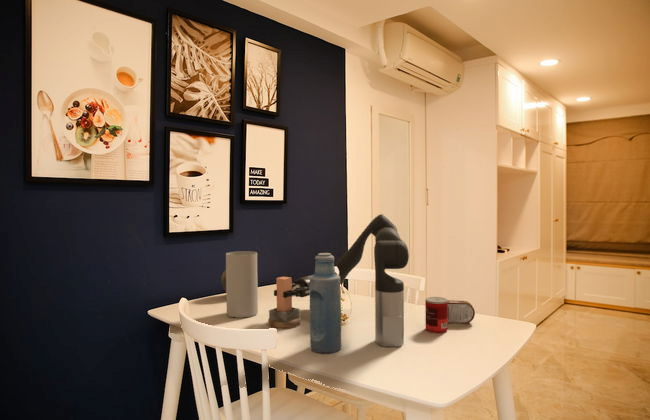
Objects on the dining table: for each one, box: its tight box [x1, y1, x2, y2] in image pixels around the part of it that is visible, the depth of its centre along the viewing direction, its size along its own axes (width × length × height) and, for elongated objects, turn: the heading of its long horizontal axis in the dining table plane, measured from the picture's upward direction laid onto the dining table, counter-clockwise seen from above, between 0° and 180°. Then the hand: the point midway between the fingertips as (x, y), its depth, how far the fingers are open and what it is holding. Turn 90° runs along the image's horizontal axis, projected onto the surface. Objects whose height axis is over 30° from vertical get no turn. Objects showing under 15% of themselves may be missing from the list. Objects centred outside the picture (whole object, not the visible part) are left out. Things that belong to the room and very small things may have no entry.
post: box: [276, 276, 293, 312], centre depth 158 cm, size 4×4×14 cm
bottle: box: [309, 252, 342, 354], centre depth 132 cm, size 10×10×30 cm
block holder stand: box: [267, 306, 301, 330], centre depth 158 cm, size 12×12×6 cm
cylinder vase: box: [225, 250, 259, 319], centre depth 172 cm, size 12×12×25 cm
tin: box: [447, 299, 476, 325], centre depth 158 cm, size 15×3×8 cm, turn 84°
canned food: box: [424, 296, 449, 334], centre depth 150 cm, size 8×8×11 cm
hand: (279, 294), depth 156 cm, fingers closed on post, 4 cm apart
